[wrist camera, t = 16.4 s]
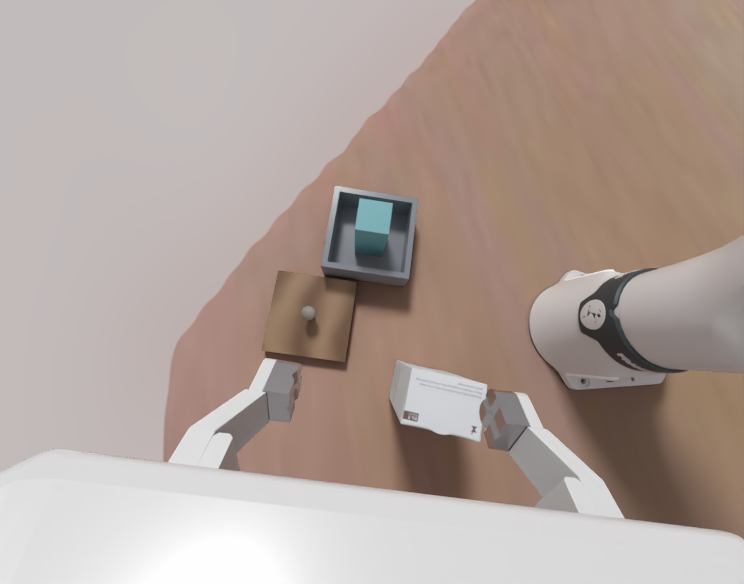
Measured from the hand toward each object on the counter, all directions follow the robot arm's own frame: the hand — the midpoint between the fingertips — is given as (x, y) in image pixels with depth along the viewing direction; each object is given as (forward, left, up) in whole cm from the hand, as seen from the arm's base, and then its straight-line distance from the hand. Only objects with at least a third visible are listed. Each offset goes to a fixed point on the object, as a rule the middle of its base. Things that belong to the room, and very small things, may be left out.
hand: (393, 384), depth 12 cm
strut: (+2, -18, -31) cm, 36 cm away
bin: (+2, -18, -31) cm, 36 cm away
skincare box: (-8, +3, -32) cm, 33 cm away
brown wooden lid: (+9, -5, -31) cm, 33 cm away
